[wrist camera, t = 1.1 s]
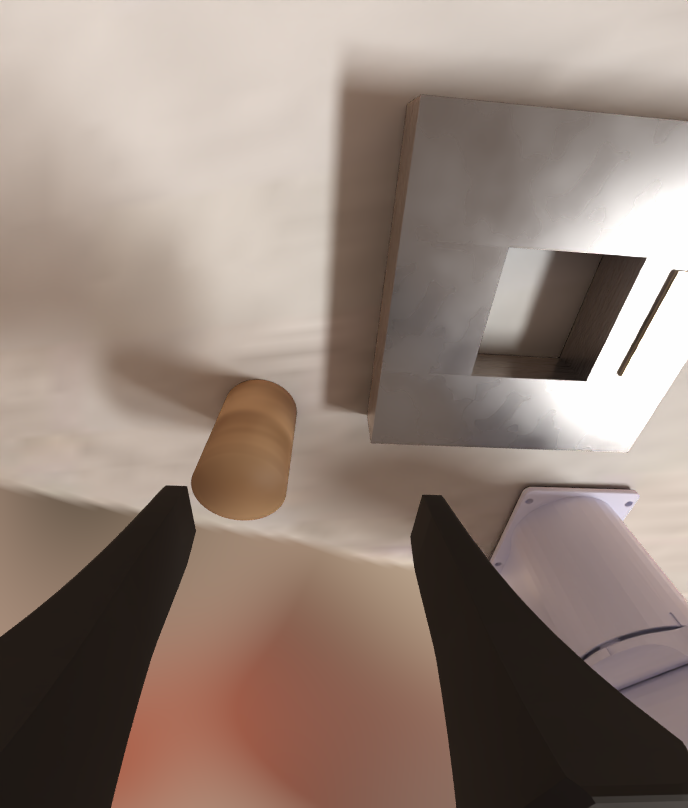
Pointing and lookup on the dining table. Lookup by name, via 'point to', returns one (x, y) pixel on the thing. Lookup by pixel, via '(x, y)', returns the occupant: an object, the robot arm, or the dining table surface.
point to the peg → (248, 453)
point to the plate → (533, 229)
